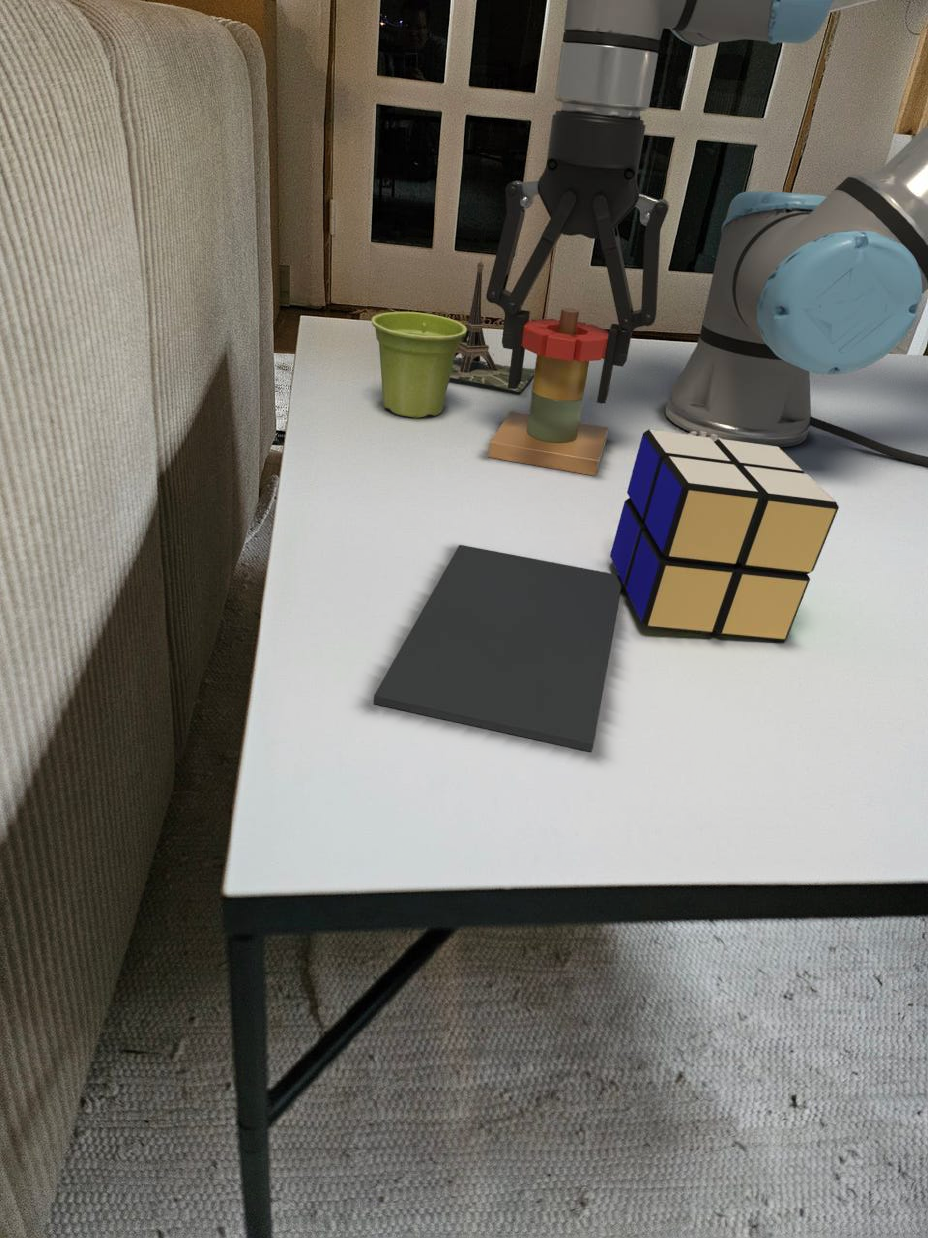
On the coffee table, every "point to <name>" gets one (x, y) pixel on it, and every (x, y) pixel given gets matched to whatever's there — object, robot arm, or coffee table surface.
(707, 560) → the puzzle cube
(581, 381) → the stack tower
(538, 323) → the red ring
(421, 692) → the slate mat
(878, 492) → the coffee table surface
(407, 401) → the plant pot
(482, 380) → the eiffel tower figurine
